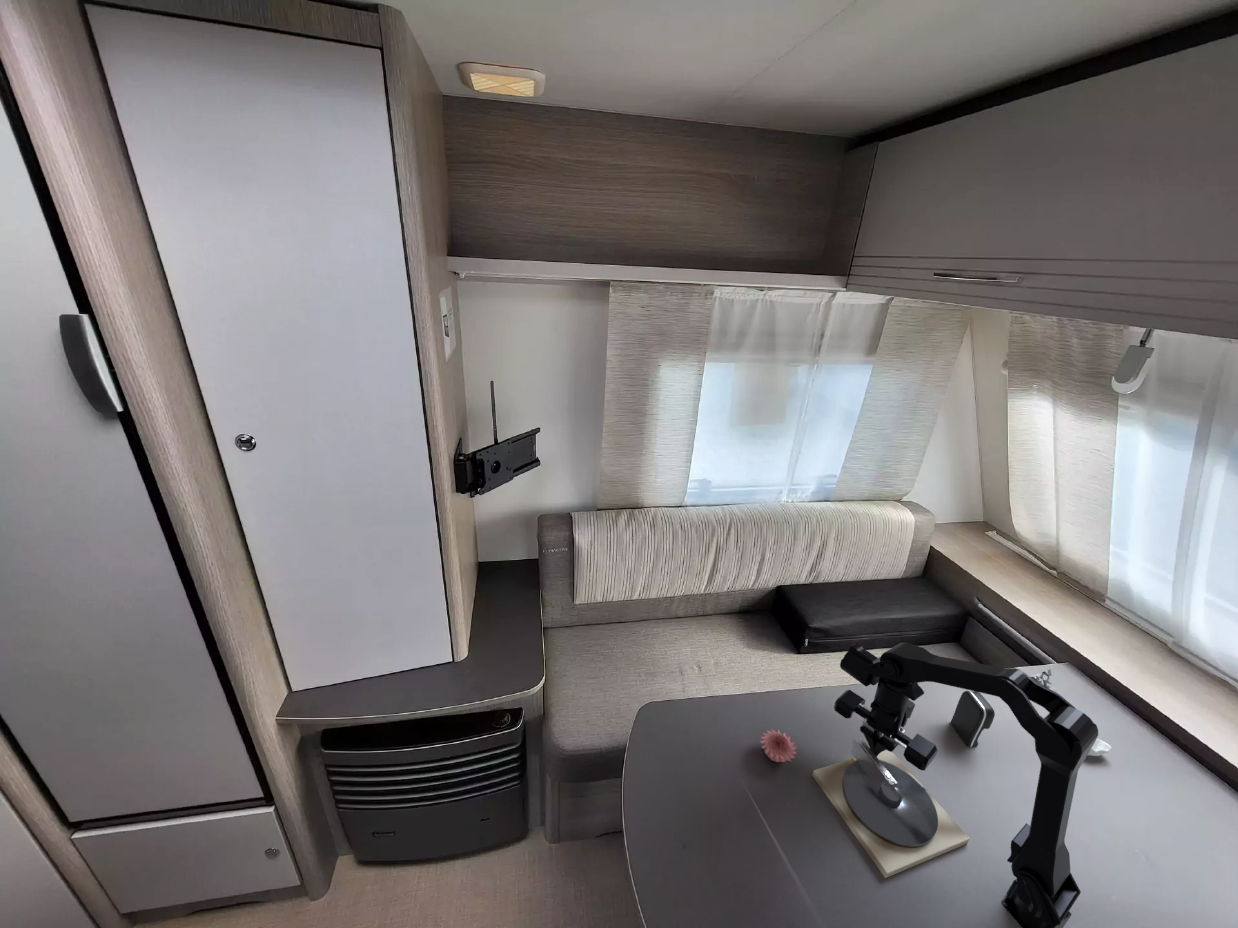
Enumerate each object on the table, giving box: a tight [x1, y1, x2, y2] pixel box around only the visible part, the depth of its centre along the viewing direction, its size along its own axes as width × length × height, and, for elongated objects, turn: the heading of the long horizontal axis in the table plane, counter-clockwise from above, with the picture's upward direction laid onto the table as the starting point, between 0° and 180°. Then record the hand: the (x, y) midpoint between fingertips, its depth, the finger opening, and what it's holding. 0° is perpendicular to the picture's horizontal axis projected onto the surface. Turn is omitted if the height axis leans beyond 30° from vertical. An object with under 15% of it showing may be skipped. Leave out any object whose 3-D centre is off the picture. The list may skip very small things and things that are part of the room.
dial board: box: [811, 750, 971, 879], centre depth 101 cm, size 20×20×2 cm
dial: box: [842, 737, 938, 848], centre depth 101 cm, size 19×17×5 cm
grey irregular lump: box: [1029, 668, 1057, 693], centre depth 132 cm, size 9×9×8 cm
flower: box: [759, 728, 798, 763], centre depth 110 cm, size 8×8×6 cm
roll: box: [1042, 715, 1112, 757], centre depth 117 cm, size 6×12×6 cm, turn 63°
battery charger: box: [949, 690, 996, 748], centre depth 117 cm, size 7×4×11 cm, turn 0°
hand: (874, 756), depth 108 cm, fingers closed
